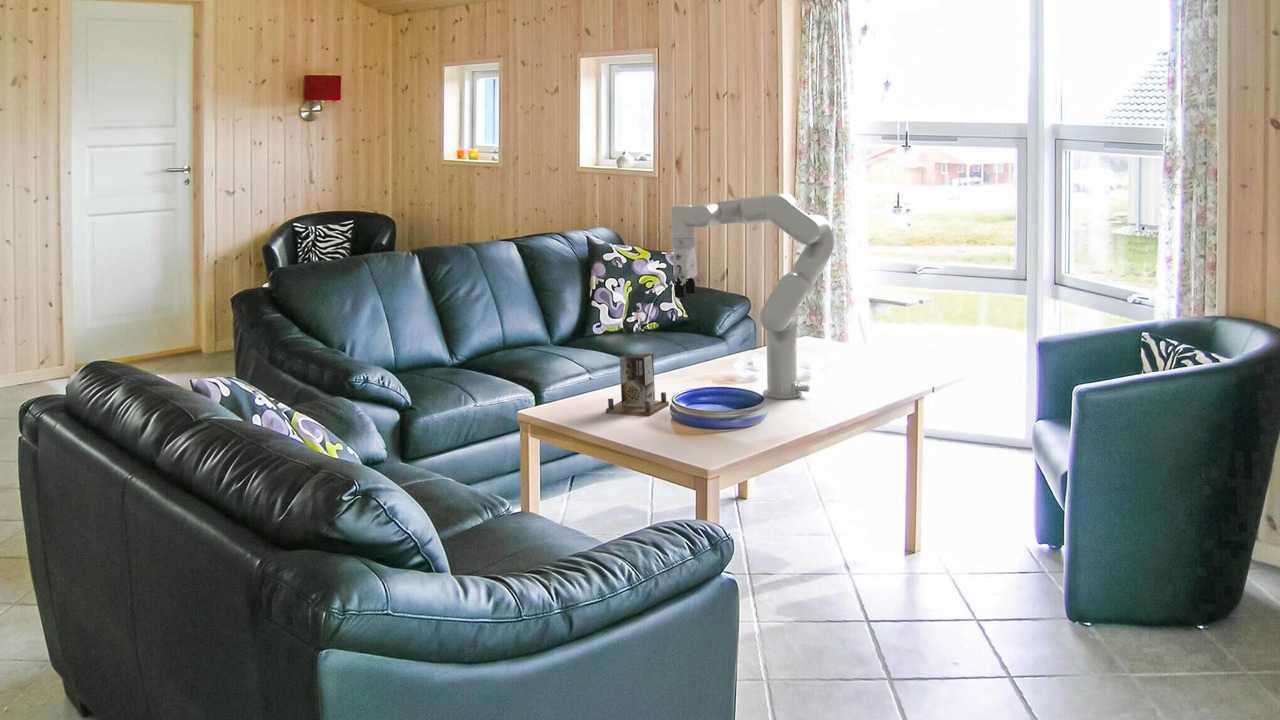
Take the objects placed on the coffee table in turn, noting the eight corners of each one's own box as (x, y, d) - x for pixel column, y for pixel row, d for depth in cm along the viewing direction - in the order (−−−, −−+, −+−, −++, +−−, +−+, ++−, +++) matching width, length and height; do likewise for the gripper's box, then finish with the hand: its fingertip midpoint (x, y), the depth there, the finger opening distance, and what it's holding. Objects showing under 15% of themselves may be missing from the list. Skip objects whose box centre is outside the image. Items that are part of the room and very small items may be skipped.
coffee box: (656, 404, 380) (654, 353, 377) (646, 408, 374) (644, 357, 371) (630, 401, 384) (628, 352, 381) (620, 406, 378) (618, 355, 375)
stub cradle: (668, 405, 383) (668, 392, 382) (650, 415, 369) (649, 402, 368) (625, 402, 389) (625, 389, 388) (606, 412, 375) (605, 399, 374)
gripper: (684, 245, 383) (686, 299, 386) (703, 240, 399) (705, 292, 402) (662, 245, 386) (664, 298, 389) (682, 240, 402) (684, 291, 405)
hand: (685, 295), depth 396 cm, fingers open, 9 cm apart
